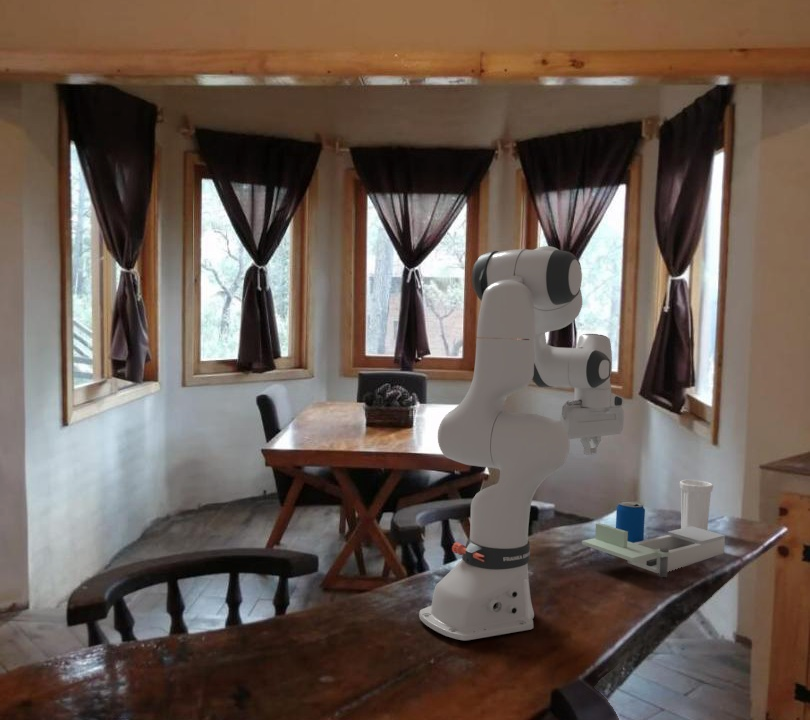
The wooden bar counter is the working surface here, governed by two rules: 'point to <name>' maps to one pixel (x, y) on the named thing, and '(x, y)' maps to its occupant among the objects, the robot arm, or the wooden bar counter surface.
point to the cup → (695, 503)
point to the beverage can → (631, 519)
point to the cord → (651, 562)
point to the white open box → (682, 549)
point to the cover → (621, 544)
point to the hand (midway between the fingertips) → (590, 454)
